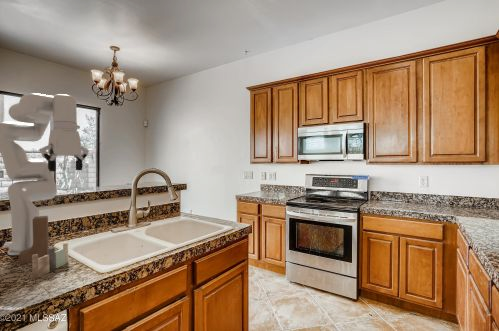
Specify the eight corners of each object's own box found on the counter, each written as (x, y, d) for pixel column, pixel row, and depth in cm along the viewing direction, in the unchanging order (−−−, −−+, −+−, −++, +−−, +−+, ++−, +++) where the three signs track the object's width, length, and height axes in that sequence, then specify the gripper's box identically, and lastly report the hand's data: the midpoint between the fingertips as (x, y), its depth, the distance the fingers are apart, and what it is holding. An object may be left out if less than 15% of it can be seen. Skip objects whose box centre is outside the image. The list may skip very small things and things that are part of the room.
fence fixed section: (36, 281, 89) (35, 255, 88) (30, 281, 89) (30, 255, 89) (56, 271, 97) (55, 247, 96) (51, 270, 97) (51, 247, 97)
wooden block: (18, 265, 101) (17, 220, 101) (21, 262, 105) (20, 218, 104) (47, 261, 106) (46, 217, 105) (49, 257, 110) (48, 215, 109)
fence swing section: (56, 268, 97) (56, 247, 97) (53, 268, 97) (52, 247, 97) (69, 262, 103) (68, 242, 102) (65, 262, 103) (65, 242, 103)
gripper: (82, 129, 111) (82, 169, 111) (34, 125, 95) (35, 171, 96) (93, 128, 107) (93, 170, 108) (45, 124, 92) (46, 172, 92)
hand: (66, 170), depth 102 cm, fingers open, 9 cm apart
